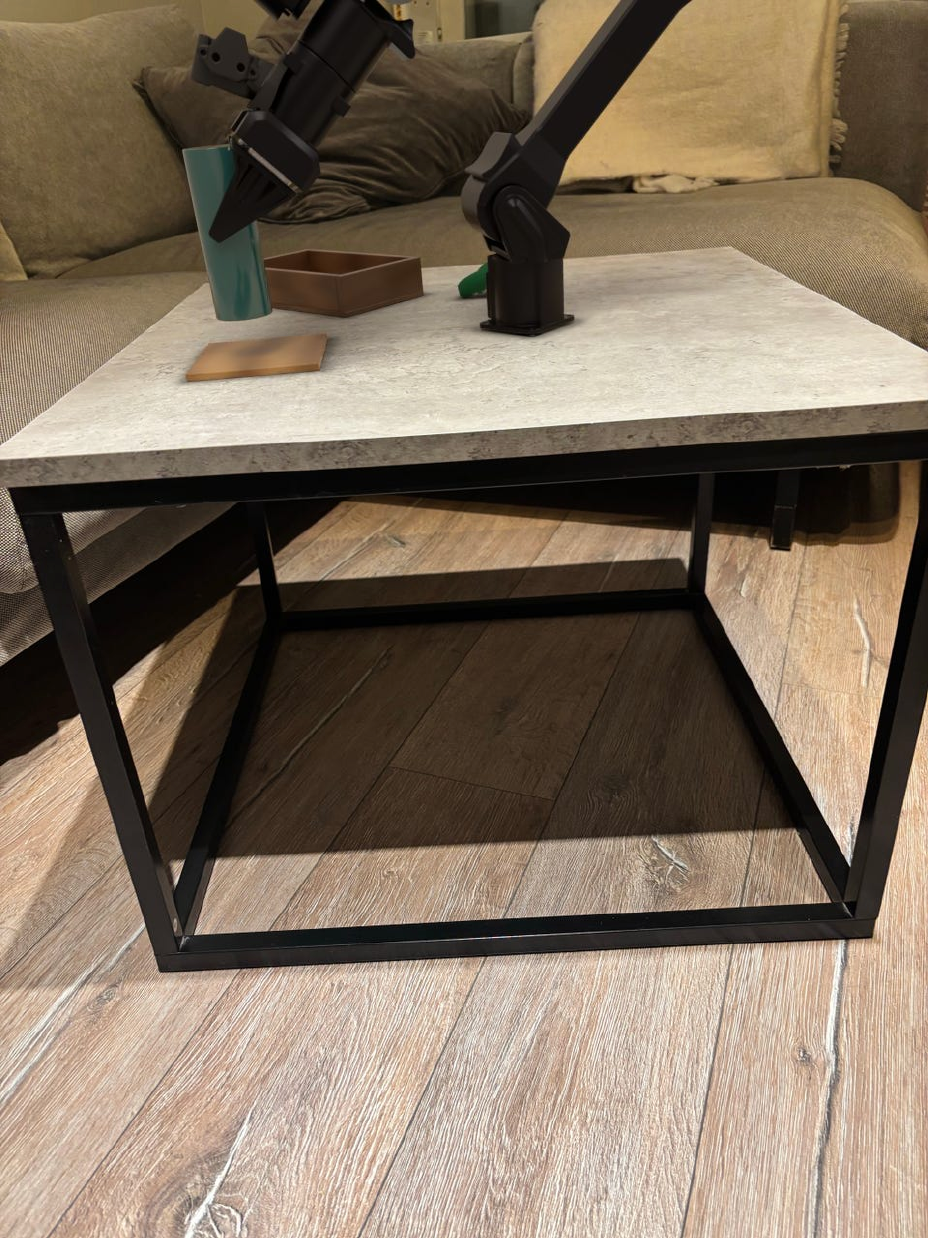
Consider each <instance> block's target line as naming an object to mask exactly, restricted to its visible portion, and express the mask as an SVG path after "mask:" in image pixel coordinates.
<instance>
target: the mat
mask: <svg viewBox="0 0 928 1238" xmlns="http://www.w3.org/2000/svg"><path fill="white" fill-rule="evenodd" d="M328 340H329V338H328V333H315V334H313V333H312V334H303V335H302V334H301V335H290V336H279V337H268V338H267V337H265V338H255V339H245V340H233V341H232V340H231V341H221V342H219V341H218V342H208V344H207V345H206V346H205V347H204V349H203V350H202V352H201V353H200V354H199V356H197V359H196V360H195V361H194V362H193V364H192V365H191V367H190V368H189V369H188V370H187V372H186V373H185V374H184V375H185V380H186V382H199V381H200V382H201V381H211V380H222V379H236V378H247V377H259V376H271V375H280V374H293V373H294V374H295V373H305V372H316V371H320V368H321V365H322V361H323V358H324V354H325V352H326V347H327V343H328Z"/></svg>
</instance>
